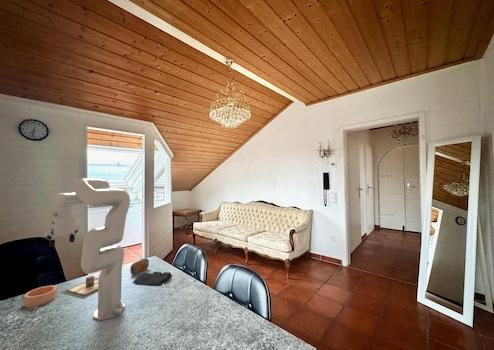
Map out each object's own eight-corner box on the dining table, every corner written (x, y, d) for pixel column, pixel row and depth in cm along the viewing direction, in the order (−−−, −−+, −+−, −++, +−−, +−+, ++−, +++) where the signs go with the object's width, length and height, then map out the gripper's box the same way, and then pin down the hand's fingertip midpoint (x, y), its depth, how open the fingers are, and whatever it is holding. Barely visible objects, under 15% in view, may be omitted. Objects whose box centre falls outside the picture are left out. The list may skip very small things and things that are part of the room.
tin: (132, 277, 139) (133, 264, 140) (129, 276, 140) (129, 264, 141) (149, 268, 154) (149, 256, 154) (145, 268, 155) (145, 256, 155)
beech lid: (110, 283, 130) (110, 274, 130) (84, 295, 115) (85, 285, 116) (94, 279, 135) (94, 270, 135) (67, 291, 121) (67, 281, 121)
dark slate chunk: (144, 274, 144) (144, 267, 144) (174, 276, 142) (174, 269, 142) (129, 285, 129) (129, 277, 129) (163, 287, 126) (163, 279, 127)
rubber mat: (117, 283, 131) (117, 282, 131) (83, 299, 112) (83, 298, 112) (95, 278, 138) (95, 277, 138) (59, 293, 119) (59, 292, 119)
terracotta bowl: (61, 296, 115) (61, 287, 116) (32, 309, 104) (33, 298, 104) (47, 293, 120) (48, 284, 120) (19, 304, 108) (19, 294, 108)
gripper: (49, 217, 111) (48, 249, 110) (83, 212, 127) (82, 240, 127) (40, 216, 113) (39, 248, 113) (75, 212, 130) (74, 239, 129)
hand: (62, 244), depth 120 cm, fingers open, 9 cm apart
